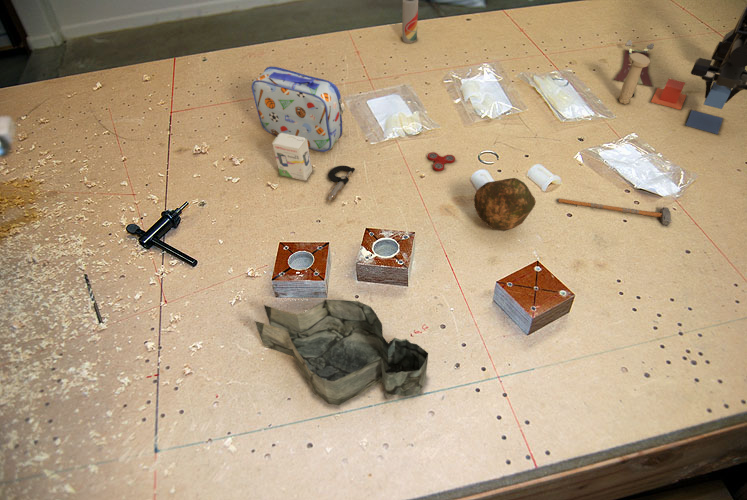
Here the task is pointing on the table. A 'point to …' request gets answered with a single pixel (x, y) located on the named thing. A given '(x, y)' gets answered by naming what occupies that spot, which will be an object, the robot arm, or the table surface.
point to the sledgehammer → (627, 210)
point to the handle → (633, 76)
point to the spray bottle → (409, 20)
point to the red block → (672, 91)
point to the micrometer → (338, 180)
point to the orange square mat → (665, 103)
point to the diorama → (626, 65)
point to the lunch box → (299, 106)
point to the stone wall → (345, 350)
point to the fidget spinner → (440, 160)
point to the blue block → (717, 96)
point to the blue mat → (704, 122)
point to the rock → (504, 203)
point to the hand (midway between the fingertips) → (715, 100)
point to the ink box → (292, 156)
